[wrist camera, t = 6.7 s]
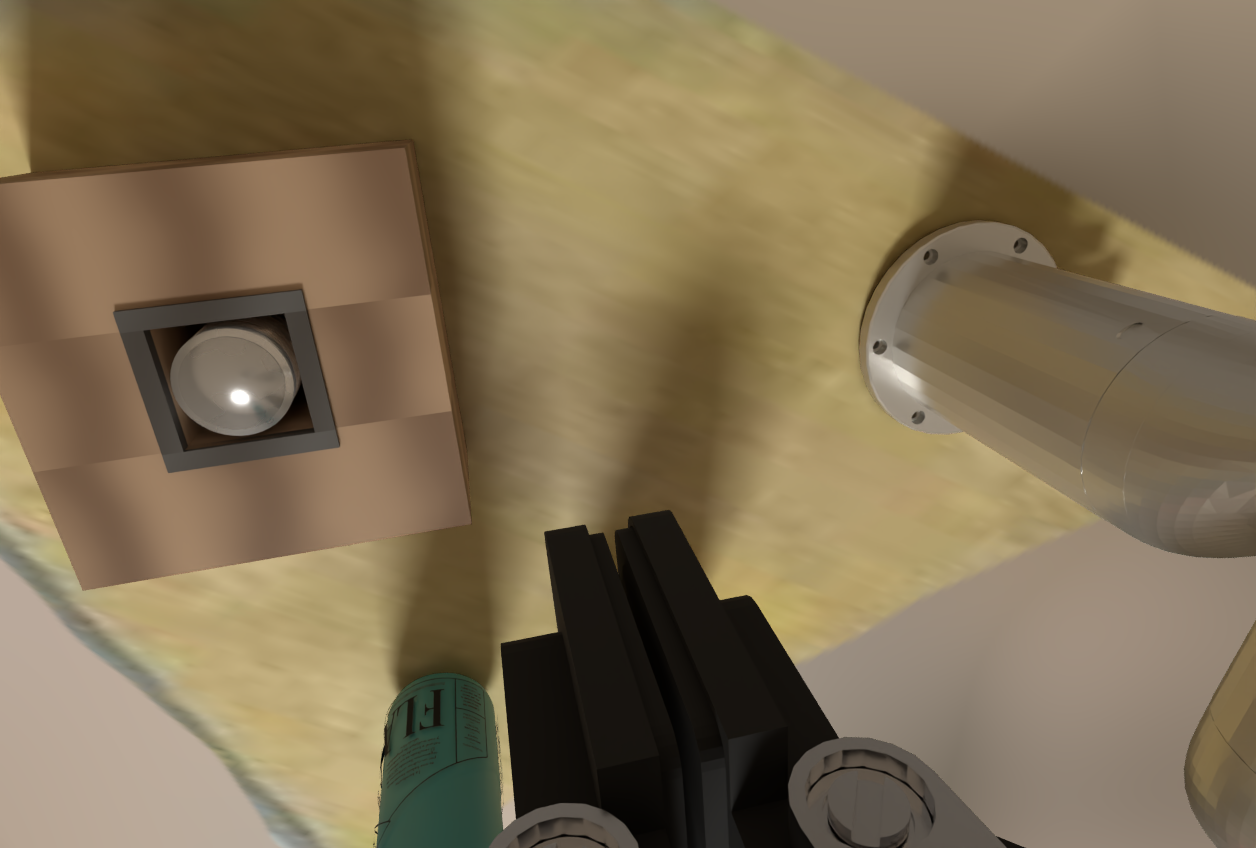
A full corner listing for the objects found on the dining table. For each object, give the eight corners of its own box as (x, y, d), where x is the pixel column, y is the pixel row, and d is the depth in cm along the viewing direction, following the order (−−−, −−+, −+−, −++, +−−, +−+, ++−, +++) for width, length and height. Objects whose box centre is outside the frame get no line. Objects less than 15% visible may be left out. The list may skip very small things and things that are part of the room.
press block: (413, 139, 36) (404, 147, 28) (467, 452, 42) (471, 526, 35) (30, 172, 33) (-90, 192, 26) (149, 501, 39) (81, 593, 32)
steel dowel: (310, 280, 37) (277, 322, 30) (331, 368, 38) (305, 427, 31) (211, 292, 36) (153, 337, 29) (236, 381, 38) (189, 444, 31)
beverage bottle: (446, 633, 46) (447, 974, 28) (518, 695, 49) (560, 1041, 31) (362, 698, 47) (310, 1075, 28) (438, 755, 49) (433, 1131, 31)
